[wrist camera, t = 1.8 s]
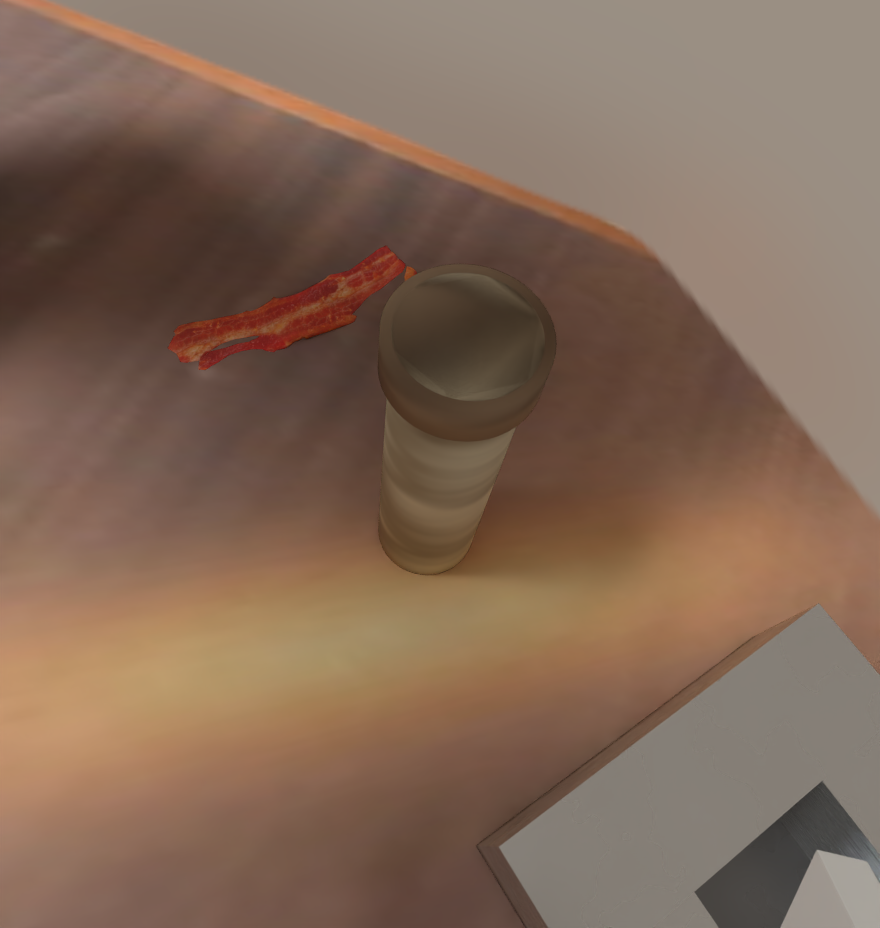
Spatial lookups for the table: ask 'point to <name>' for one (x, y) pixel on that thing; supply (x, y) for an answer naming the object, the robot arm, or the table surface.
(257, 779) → the table surface
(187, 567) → the table surface
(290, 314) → the bacon strip
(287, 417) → the table surface
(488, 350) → the beige cylinder
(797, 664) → the block
